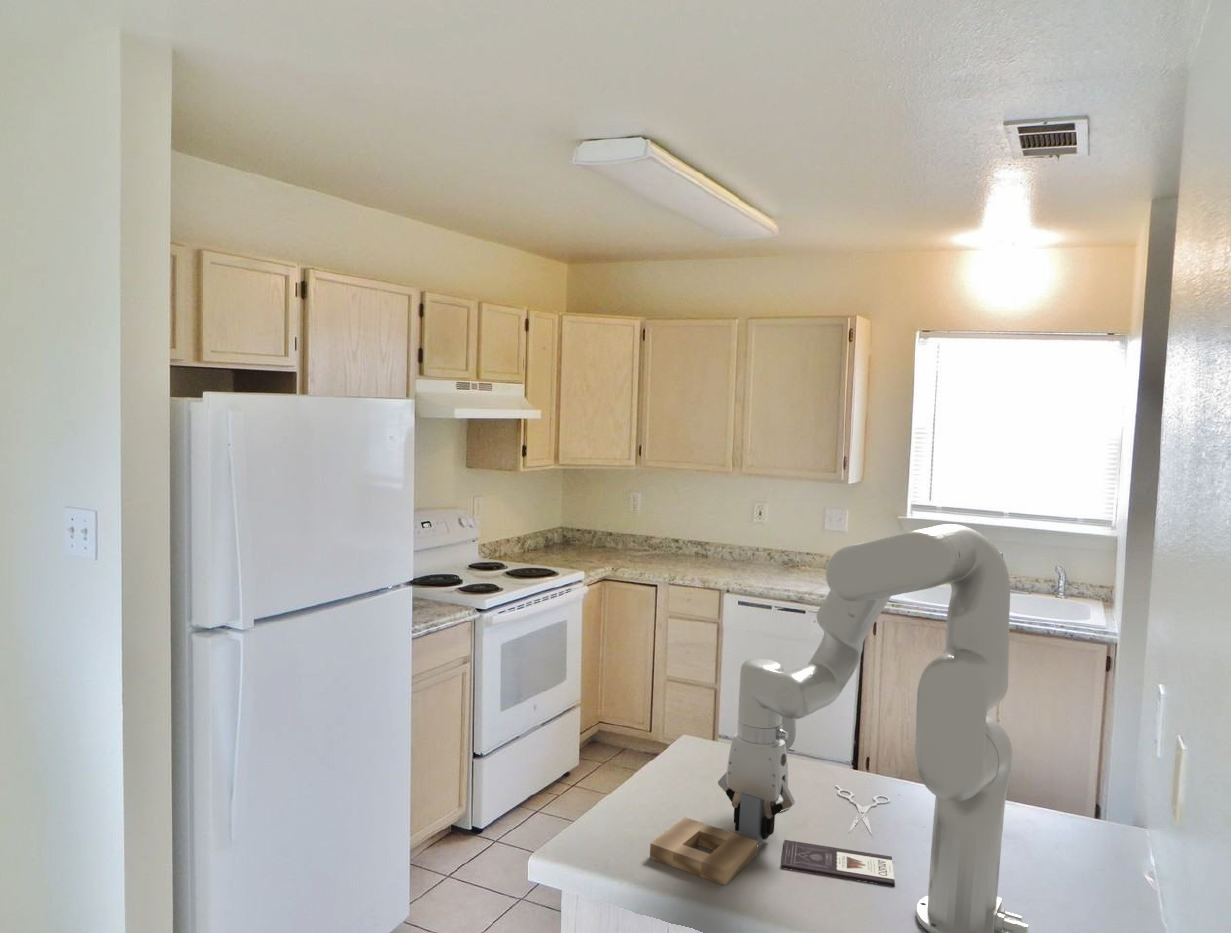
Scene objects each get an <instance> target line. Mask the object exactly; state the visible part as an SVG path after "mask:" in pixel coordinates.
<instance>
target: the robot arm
mask: <svg viewBox="0 0 1231 933" xmlns="http://www.w3.org/2000/svg"><path fill="white" fill-rule="evenodd" d="M1007 566H1008V565H1007V563H1006V562H1005V559H1004V557H1003V555H1002V553H1001V551H999V549H998V548H997V546H996V545H995V544H994V543H993V542H992V541H991V540H990V539H989V538H987V536H985V535H983V534H982V533H980V532H979V531H977V530H975V529H972V528H971V527H968V526H965V525H961V524H955V523H947V524H946V523H945V524H939V525H933V526H930V527H925V528H920V529H915V530H912V531H907V532H903V533H899V534H895V535H891V536H888V537H887V536H886V537H883V538H880V539H875V540H871V541H865V542H860V543H855V544H850V545H847V546H844V547H841V548H840V549H838V550H837V551H835V553H834V554H832V556H831V557H830V558H829V561H828V563H827V565H826V571H825V578H826V583H827V585H828V588H829V592H828V593H827V595H826V597H825V598H824V600H823V602H822V603H821V605H820V606H819V608H818V609H817V612H816V622H817V624H818V625H819V627H820V628H821V630H823V632H824V633H823V636H822V639H821V641H820V644H818V647H817V649H816V650H815V652H814V654H813V655H812V657H811V659H810V660H809V662H808V663H807V664H806V665H803V666H801V667H799V668H796V669H792V670H789V671H785V670H784V668H783V666H782V664H781V663H779V662H777V661H775V660H773V659H768V658H759V657H758V658H749V659H747V660H746V661H744V662H743V663H742V665H741V667H740V672H739V673H740V674H739V677H740V678H739V693H738V694H739V695H738V710H737V712H738V713H737V726H736V727H737V731H736V732H735V734H733V738H732V741H731V744H730V749H729V754H728V760H727V768H726V772H725V773H724V774H723V775H722V776H721V778H720V779H719V780H718V782H717V784H718V786H719V787H720V788H721V789H722V790H723V792H725V794H726V796H727V797H728V799H729V800H730V802H731V806H732V808H734V809H733V810H734V811H733V823H734V830H735V831H736V832H739V818H740V800H741V793H743V794H747V795H750V796H753V797H757V798H760V799H762V800H763V802H764V809H765V816H763V818H762V830H761V838H762V839H763V840H764V841H766V840H767V839H768V838H769V837H770V836H772V835H773V834H774V832H775V824H776V823H775V820H776V815H777V814H779V813H781V812H780V811H781V810H784V809H787V808H789V807H790V808H791V807H793V805H795V804H796V802H795V799H794V797H793V796H792V794H791V792H790V790H789V765H788V764H789V763H788V762H789V761H788V754H787V753H788V752H787V751H788V750H787V751H786V745H785V741H784V740H781V739H787V738H788V732H787V731H784V730H783V729H782V724H781V722H782V716H783V717H785V718H788V719H796V720H800V719H803V718H806V717H807V716H810V715H811V714H814V713H815V712H818V711H819V710H821V709H823V708H825V707H828V706H829V705H831V704H833V703H834V702H835V701H836V700H837V699H838V697H839V696H840V695H841V693H842V692H843V690H844V689H845V687H846V686H847V684H848V682H849V681H850V679H851V678H852V677H853V675H854V673H855V670H857V667H858V665H859V663H860V659H861V656H862V653H863V650H864V641H865V640H866V637H867V636H868V634H869V632H870V631H871V629H872V628H873V626H874V624H875V623H876V621H877V620H878V618H879V616H880V614H881V613H882V611H883V610H884V608H885V607H886V605H887V604H888V601H889V600H890V598H891V597H892V596H897V595H902V594H908V593H913V592H918V591H919V592H920V591H923V590H929V589H933V588H936V587H937V588H938V587H940V586H942V585H945V584H948V583H949V584H950V587H951V593H950V599H949V604H948V607H947V611H946V612H947V613H946V614H947V615H946V639H945V640H946V641H945V647H944V652H943V653H942V654H941V655H940V656H938V657H935V658H934V659H933V660H932V661H930V662H929V663H928V664H927V665H926V667H925V668H924V669H923V671H922V672H921V676H920V679H919V682H918V687H917V692H916V693H917V694H916V716H915V717H916V719H915V745H914V747H915V749H914V750H915V751H914V752H915V756H914V757H915V765H916V769H917V772H918V775H919V777H920V780H921V781H922V784H923V785H924V786H925V788H927V789H928V791H929V792H930V793H931V794H933V795H934V796H935V799H934V812H933V822H932V823H933V824H932V835H931V849H930V863H929V874H928V875H929V877H928V878H929V879H928V891H927V895H926V896H924V897H923V898H921V899H920V900H919V901H918V902H917V904H916V906H915V907H916V908H915V917H916V919H917V921H918V922H919V924H920V925H921V926H922V928H923V929H924V930H925V931H927V932H928V933H1029V924H1026V923H1024V922H1022V921H1023V916H1022V915H1020V914H1017V913H1014V912H1010V911H1006V909H1005V908H1003V907H1002V901H1003V900H1002V897H999V896H998V894H999V892H998V891H999V876H1000V866H1001V864H1000V863H1001V855H1002V854H1001V851H1002V841H1003V839H1002V838H1003V830H1004V818H1005V807H1006V799H1007V793H1008V787H1009V783H1010V778H1011V772H1012V768H1013V767H1012V766H1013V747H1012V744H1011V743H1012V742H1011V739H1010V738H1009V737H1010V736H1008V735H1009V734H1008V733H1007V731H1006V730H1005V729H1004V727H1003V726H1002V725H1001V724H1000V723H999V722H998V721H996V720H994V719H993V718H992V717H990V716H987V713H988V712H989V711H990V710H992V709H994V708H995V707H996V706H997V705H998V704H1000V703H1001V702H1002V701H1003V699H1004V698H1005V697H1006V694H1007V692H1008V689H1009V663H1010V662H1009V659H1010V658H1009V657H1010V656H1009V654H1010V610H1011V609H1010V608H1011V607H1010V606H1011V584H1010V583H1011V582H1010V581H1011V580H1010V575H1009V570H1008V567H1007ZM779 796H780V797H782V798H783V801H780V802H779V803H777V801H778V799H779ZM790 808H789V809H790Z"/></svg>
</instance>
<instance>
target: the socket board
mask: <svg viewBox="0 0 1231 933" xmlns="http://www.w3.org/2000/svg"><path fill="white" fill-rule="evenodd" d="M649 844H650V847H649V848H650V849H649V858H650V859H653V860H655V861H658V862H660V863H662V864H666V865H667V866H671V867H673V868H677V869H680V870H682V871H685V872H688V873H690V874H692V875H695V876H698V877H701V878H703V879H706V880H708V881H711V880H712V881H711V882H714V881H715V882H714V883H717V882H718V883H717V884H720V883H721V884H720V885H722V884H724V885H723V886H727V885H728V884H729V883H730V882H731V881H732V880H733V879H734V878H735V877H736V876H737V875H738V874H739V873H740V872H741V871H742V870H743V869H744V868H745V867H746V866H747V865H748V864H749V863H750V862H751V861H752V860H753V859H752V858H753V857H754V856H756V854H757V855H758V847H757V844H758V841H756V840H753V839H750V838H747V837H744V836H741V835H739V833H734V832H731V831H728V830H725V829H722V828H719V827H716V826H713V825H710V824H708V823H704V822H700V821H698V820H695V819H692V818H689V817H686V816H685V817H683V818H682V819H681V820H679V821H678V822H677V823H675V824H674V825H673V826H671V827H670V828H669V829H667V830H666V831H664V833H663V834H661V835H660V836H658V837H657V838H656V839H654V840H653V841H652V842H651V843H649ZM698 846H700V847H704V848H707V849H709V850H711V851H712V852H711V853H708V852H705V851H702V850H700V849H696V848H697V847H698ZM756 857H757V856H756ZM751 859H752V860H751ZM750 860H751V861H750ZM749 861H750V862H749ZM748 862H749V863H748ZM747 863H748V864H747ZM746 864H747V865H746ZM745 865H746V866H745ZM744 866H745V867H744ZM743 867H744V868H743ZM742 868H743V869H742ZM741 869H742V870H741ZM740 870H741V871H740ZM739 871H740V872H739ZM738 872H739V873H738ZM737 873H738V874H737ZM736 874H737V875H736ZM735 875H736V876H735ZM734 876H735V877H734ZM733 877H734V878H733ZM730 880H731V881H730ZM729 881H730V882H729ZM728 882H729V883H728ZM727 883H728V884H727ZM726 884H727V885H726Z"/></svg>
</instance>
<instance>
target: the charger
mask: <svg viewBox="0 0 1231 933" xmlns="http://www.w3.org/2000/svg"><path fill="white" fill-rule="evenodd" d="M763 816H765V809H764V802H763V800H762V799H760V798H757V797H753V796H750V795H747V794H743V793H741V800H740V818H739V831H738V835H741V836H744V837H747V838H750V839H753V840H756V841H758V844H757V845H759V844H760V843H761V844H762V843H763V842H764V841H765V840H763V839H762V838H761V830H762V818H763ZM759 846H760V845H759Z"/></svg>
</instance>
